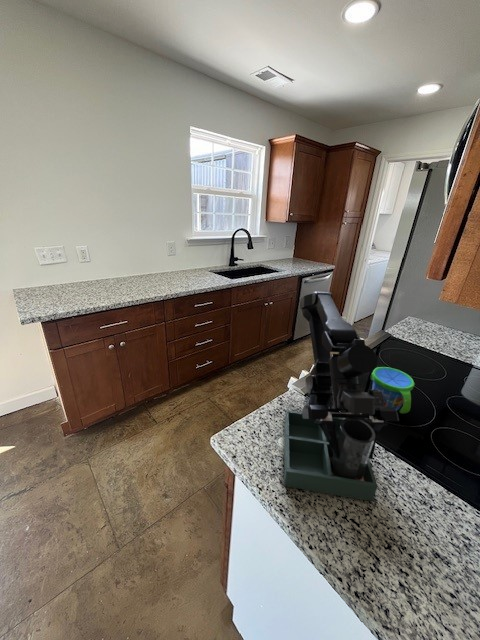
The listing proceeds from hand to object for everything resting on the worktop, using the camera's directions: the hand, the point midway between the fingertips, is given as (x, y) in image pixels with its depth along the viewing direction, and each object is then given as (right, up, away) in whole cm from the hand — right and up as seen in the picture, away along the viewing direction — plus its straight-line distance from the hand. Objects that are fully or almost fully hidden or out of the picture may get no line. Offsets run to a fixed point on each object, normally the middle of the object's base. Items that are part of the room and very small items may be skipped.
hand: (353, 458), depth 54 cm
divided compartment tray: (-4, -4, +9) cm, 10 cm away
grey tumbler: (0, -5, +4) cm, 7 cm away
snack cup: (+20, +2, +26) cm, 33 cm away
